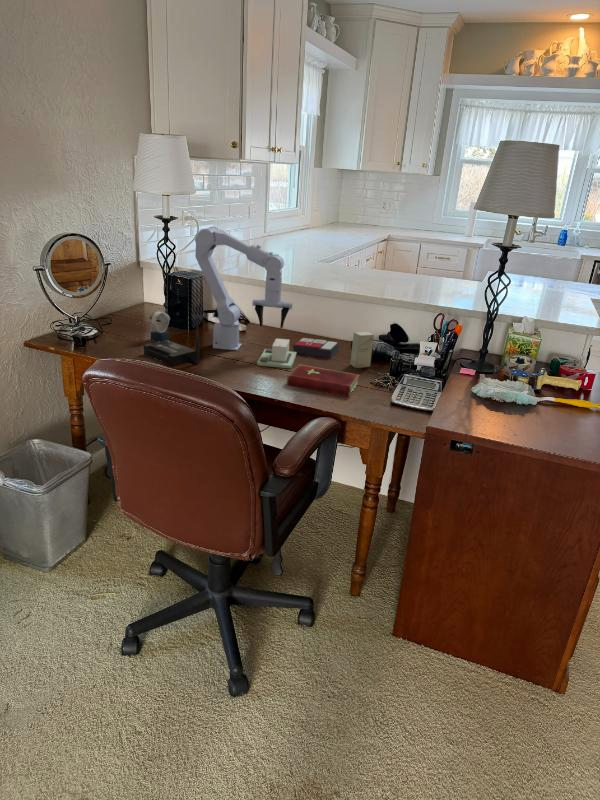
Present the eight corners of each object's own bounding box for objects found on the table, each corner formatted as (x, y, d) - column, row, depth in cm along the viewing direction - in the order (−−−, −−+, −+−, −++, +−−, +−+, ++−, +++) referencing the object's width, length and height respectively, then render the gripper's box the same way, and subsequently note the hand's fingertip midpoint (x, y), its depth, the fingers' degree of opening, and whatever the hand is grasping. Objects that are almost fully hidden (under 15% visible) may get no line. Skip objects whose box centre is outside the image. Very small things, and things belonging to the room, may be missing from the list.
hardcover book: (349, 398, 174) (351, 386, 173) (286, 386, 180) (287, 374, 178) (358, 386, 185) (359, 374, 183) (298, 375, 190) (299, 363, 189)
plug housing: (271, 360, 198) (272, 345, 195) (275, 352, 206) (276, 338, 204) (285, 362, 197) (286, 346, 195) (288, 354, 206) (289, 339, 204)
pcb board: (257, 365, 195) (257, 354, 194) (264, 351, 210) (265, 341, 208) (290, 368, 194) (291, 357, 193) (296, 354, 209) (297, 344, 208)
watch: (172, 338, 217) (172, 311, 212) (159, 343, 210) (158, 315, 206) (160, 336, 219) (160, 308, 214) (147, 341, 212) (146, 312, 208)
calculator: (302, 336, 220) (339, 340, 215) (302, 347, 221) (338, 351, 217) (292, 344, 210) (331, 348, 206) (292, 355, 212) (330, 359, 207)
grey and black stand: (139, 356, 196) (137, 308, 190) (171, 349, 207) (170, 303, 200) (176, 371, 185) (175, 321, 179) (208, 362, 195) (208, 315, 189)
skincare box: (356, 368, 199) (359, 335, 195) (349, 364, 203) (353, 332, 198) (370, 366, 202) (374, 334, 198) (363, 362, 206) (367, 330, 201)
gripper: (251, 290, 198) (250, 327, 203) (291, 293, 197) (289, 331, 202) (255, 286, 204) (253, 322, 209) (294, 290, 203) (291, 326, 208)
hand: (271, 326), depth 206 cm, fingers open, 7 cm apart
